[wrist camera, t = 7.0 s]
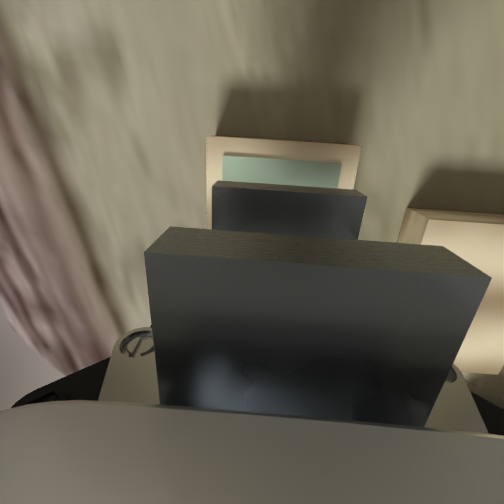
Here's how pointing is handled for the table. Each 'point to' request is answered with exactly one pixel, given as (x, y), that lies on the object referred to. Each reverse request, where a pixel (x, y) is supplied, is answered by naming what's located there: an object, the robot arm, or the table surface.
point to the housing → (305, 309)
